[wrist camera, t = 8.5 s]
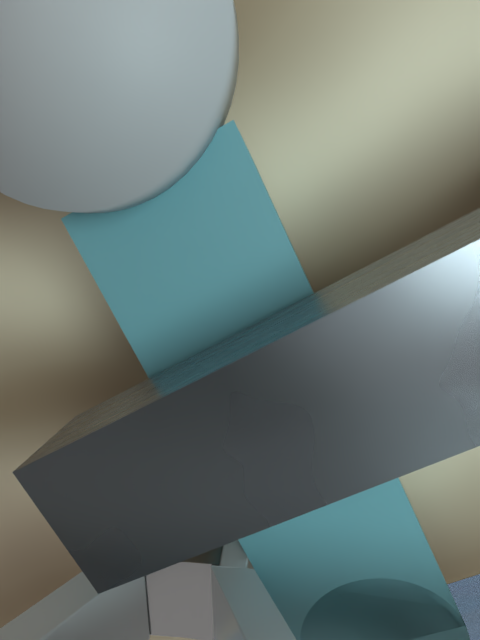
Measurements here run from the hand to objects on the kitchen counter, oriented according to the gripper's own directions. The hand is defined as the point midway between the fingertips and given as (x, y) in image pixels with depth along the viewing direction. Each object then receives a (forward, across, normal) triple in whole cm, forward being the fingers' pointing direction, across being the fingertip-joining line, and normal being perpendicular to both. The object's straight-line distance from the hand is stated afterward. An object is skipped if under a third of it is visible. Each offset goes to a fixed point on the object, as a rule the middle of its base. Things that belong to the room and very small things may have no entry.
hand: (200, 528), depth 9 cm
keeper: (+1, -4, -6) cm, 7 cm away
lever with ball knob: (+1, -1, -4) cm, 5 cm away
